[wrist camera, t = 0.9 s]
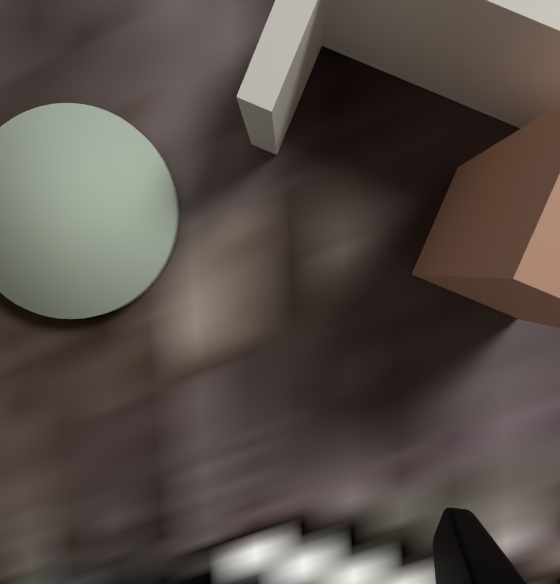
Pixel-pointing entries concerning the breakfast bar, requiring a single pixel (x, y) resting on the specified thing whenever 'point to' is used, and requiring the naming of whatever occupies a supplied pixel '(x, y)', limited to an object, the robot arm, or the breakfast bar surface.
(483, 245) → the block
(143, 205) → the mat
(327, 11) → the bay
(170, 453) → the breakfast bar surface
